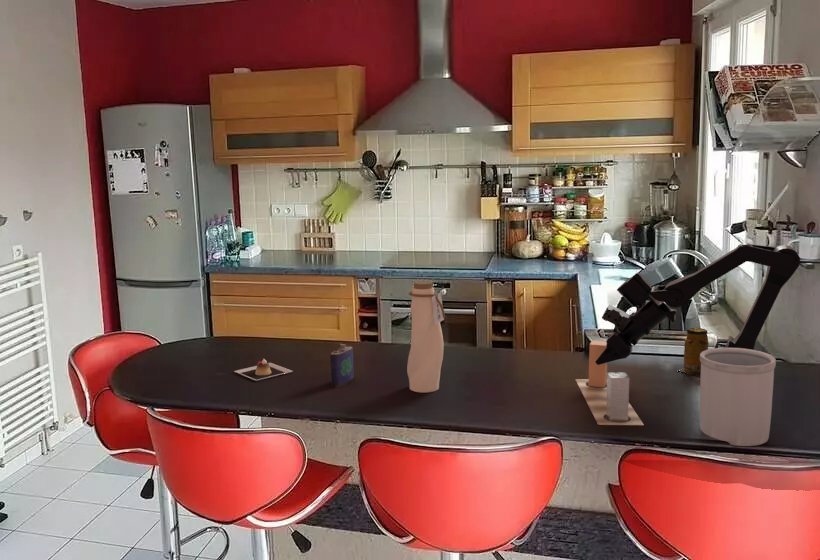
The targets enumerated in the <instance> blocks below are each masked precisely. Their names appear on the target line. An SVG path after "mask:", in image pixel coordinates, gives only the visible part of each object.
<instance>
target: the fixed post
mask: <svg viewBox="0 0 820 560" xmlns="http://www.w3.org/2000/svg"><path fill="white" fill-rule="evenodd" d="M629 400H630V376H629V375H628V373H626V372H607V406H606V415H607V417H608V419H609V420H610V421H628V403H630V402H629Z"/></svg>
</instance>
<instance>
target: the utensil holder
mask: <svg viewBox="0 0 820 560" xmlns="http://www.w3.org/2000/svg"><path fill="white" fill-rule="evenodd" d="M700 362H701V377H700V382H699V383H700V388H699V389H700V391H699V429H700V431H701V432H702V433H704V434H705V435H707V436H708V437H711V438H713V439H715V440H716V439H717V440H719V441H724V442H727V443H728V444H729V445H730V446H734V447H735V446H736V447H753V446H754V447H755V446H760V445H763V444H765V443H767V442H768V440H769V438H770V437H769V436H770V431H771V421H772V420H771V419H772V410H773V409H772V407H773V395H774V394H773V393H774V392H773V391H774V380H775V378H774V377H775V368H776V364H777V360H776V357H774V356H773V355H772V354H769V353H767V352H763V351H759V350H755V349H754V350H750V349H743V348H724V347H715V348H708V350H705V351H703V352H701V354H700Z"/></svg>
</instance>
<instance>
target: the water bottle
mask: <svg viewBox="0 0 820 560" xmlns="http://www.w3.org/2000/svg"><path fill="white" fill-rule="evenodd" d="M433 285H434V284H433V281H429V280H418V281H417V280H416V281H413V286H412V289H411V290H410V291H409V292H408V295H409V296H411V302H410V314H411V331H410V332H411V335H410V338H411V340H410V342H411V343H410V350H409V353H408V357H407V367H406V372H407V377H408V382H409V390H410V391H413V392H416V393H421V394H423V393H424V394H425V393H432V392H436V391H438V390H439V389H440V378H441V368H442V364H443V359H444V347H445V346H444V338H443V337H444V335H443V331H442V330H443V329H442V326H441V322H442V321H445V318H446V313H445V309H444V307H443V297H442V292H439V293H438V292H437V291H436V290H435V289H434V286H433Z"/></svg>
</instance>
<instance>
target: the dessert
mask: <svg viewBox="0 0 820 560" xmlns="http://www.w3.org/2000/svg"><path fill="white" fill-rule="evenodd" d="M271 368H273V369H276V370H277V371H280V372H283V373H278V374H274V375H271V374H272V369H271ZM253 370H255V375H256V376H266V377H262V378H259V379H256V378H253V377H250V376H248V375H246V374H243V373H246V372H250V371H253ZM233 372H234V373H236V374H239V375H241V376H243V377H245V378H248V379H250V380H252V381H255V382H259V381H264V380H267V379H271V378H274V377H280V376H283V375H287V374H290V373H292V372H293V370H291V369H288V368H286V367H283V366H281V365H277V364H275V363H272V362H267V360H266V359H265V358H262V360H261V359H260V360H259V361H258V362H257V364H256V365H254V366H250V367H246V368H241V369H237V370H234V371H233ZM268 375H270V376H268Z"/></svg>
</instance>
